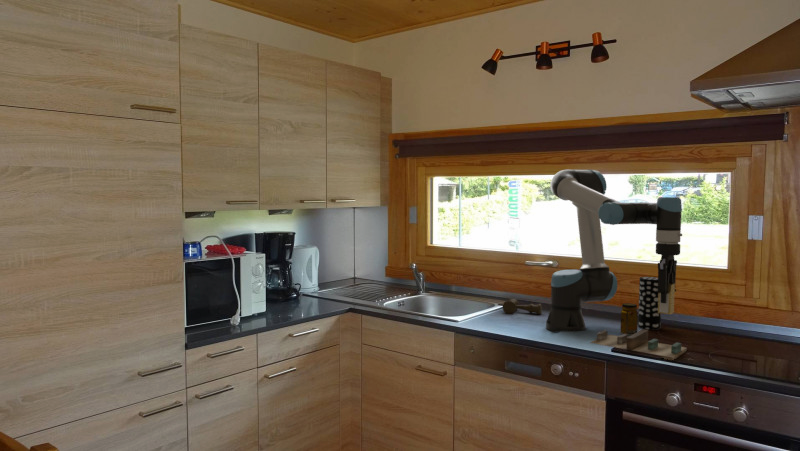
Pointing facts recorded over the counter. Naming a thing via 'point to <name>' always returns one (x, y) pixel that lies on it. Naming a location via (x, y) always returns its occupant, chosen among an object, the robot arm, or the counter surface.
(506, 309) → the kendama
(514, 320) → the counter surface
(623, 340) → the lock plate
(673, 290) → the stop bar
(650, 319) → the white-spotted black cylinder
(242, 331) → the counter surface
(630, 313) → the condiment
